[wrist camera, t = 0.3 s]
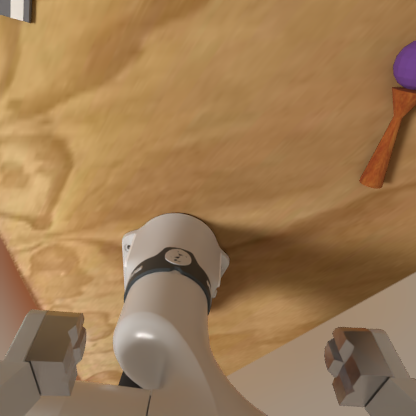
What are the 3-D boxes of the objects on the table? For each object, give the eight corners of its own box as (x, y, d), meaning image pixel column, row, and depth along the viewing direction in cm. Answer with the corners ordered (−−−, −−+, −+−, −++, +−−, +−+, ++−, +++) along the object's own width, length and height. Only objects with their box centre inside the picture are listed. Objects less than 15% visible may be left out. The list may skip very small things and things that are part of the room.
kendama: (354, 187, 49) (413, 35, 39) (347, 172, 54) (398, 35, 44) (396, 195, 48) (466, 43, 39) (385, 180, 53) (445, 42, 44)
